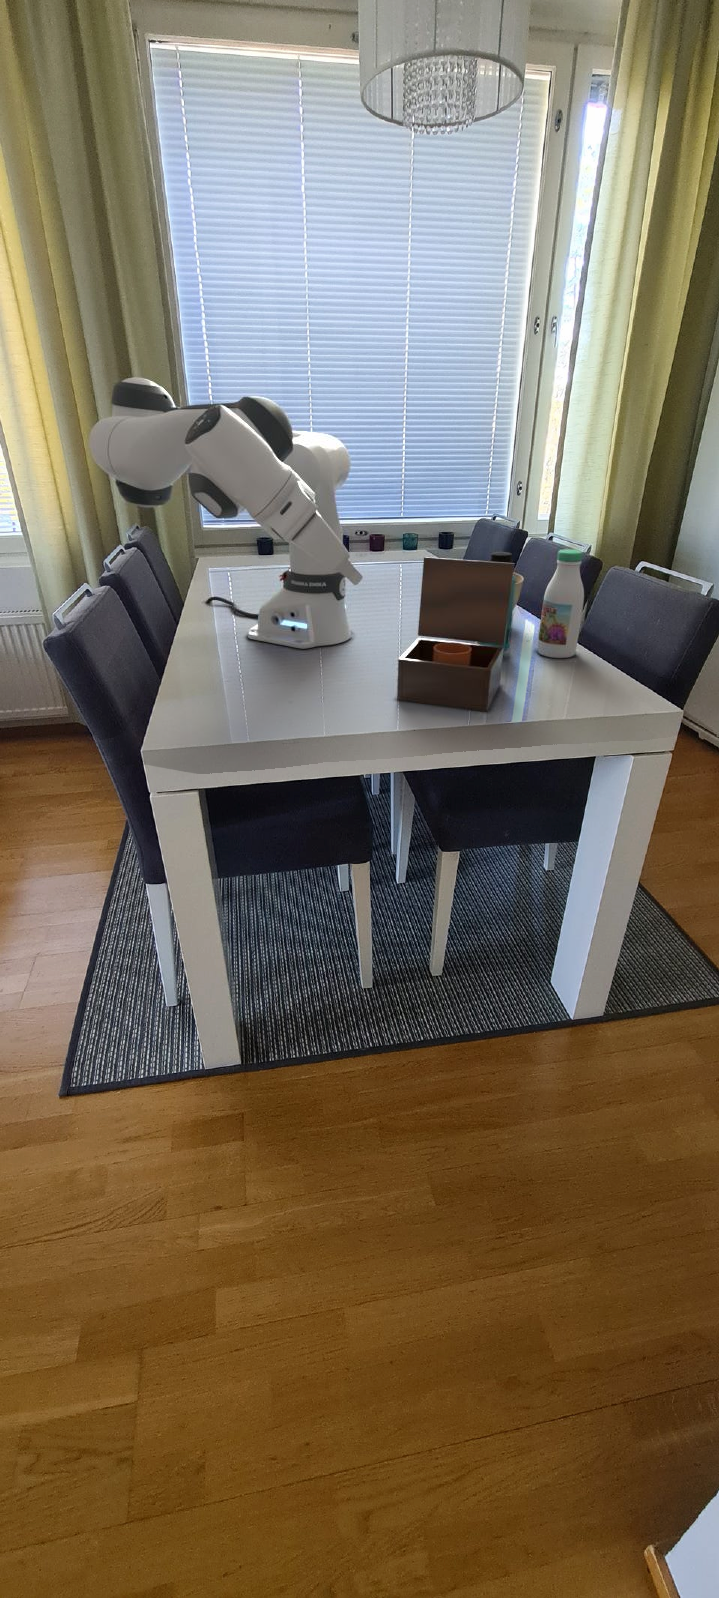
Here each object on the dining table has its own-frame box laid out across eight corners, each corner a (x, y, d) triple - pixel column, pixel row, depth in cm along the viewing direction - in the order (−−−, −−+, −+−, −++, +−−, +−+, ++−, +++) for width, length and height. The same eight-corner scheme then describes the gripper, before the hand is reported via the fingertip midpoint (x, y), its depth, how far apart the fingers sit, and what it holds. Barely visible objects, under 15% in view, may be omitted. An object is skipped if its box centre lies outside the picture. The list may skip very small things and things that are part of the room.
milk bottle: (557, 645, 146) (572, 545, 136) (583, 655, 140) (600, 552, 130) (528, 650, 143) (541, 549, 133) (553, 661, 137) (569, 556, 127)
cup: (427, 693, 120) (429, 651, 116) (436, 681, 125) (438, 640, 122) (463, 698, 118) (467, 655, 115) (471, 685, 124) (474, 644, 120)
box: (486, 711, 115) (490, 669, 112) (397, 699, 120) (398, 658, 116) (499, 685, 126) (503, 646, 122) (416, 675, 130) (418, 637, 126)
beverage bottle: (508, 661, 137) (520, 556, 127) (474, 659, 138) (483, 555, 128) (509, 651, 143) (520, 549, 133) (476, 649, 144) (485, 548, 134)
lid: (513, 563, 116) (517, 562, 120) (423, 557, 121) (430, 556, 125) (503, 644, 121) (507, 640, 125) (417, 635, 126) (423, 632, 130)
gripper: (265, 515, 111) (326, 574, 118) (280, 536, 94) (351, 605, 101) (291, 484, 110) (352, 546, 116) (312, 500, 92) (381, 572, 99)
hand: (352, 574), depth 108 cm, fingers open, 8 cm apart
